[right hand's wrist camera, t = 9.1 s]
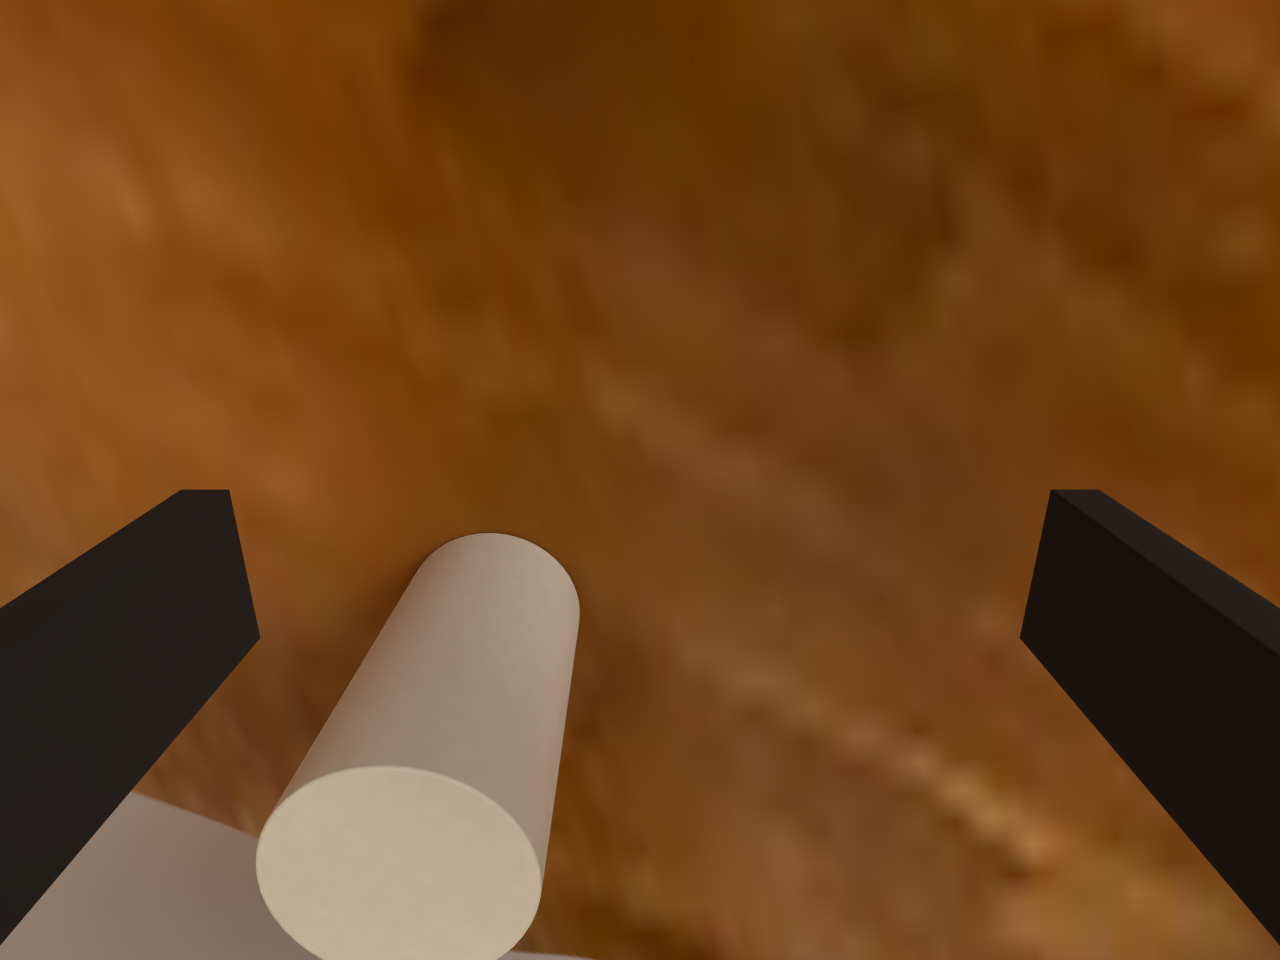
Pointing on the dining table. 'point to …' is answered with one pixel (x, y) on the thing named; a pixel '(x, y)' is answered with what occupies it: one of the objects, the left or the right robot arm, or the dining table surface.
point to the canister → (434, 768)
